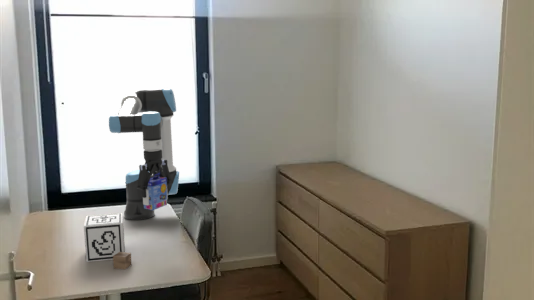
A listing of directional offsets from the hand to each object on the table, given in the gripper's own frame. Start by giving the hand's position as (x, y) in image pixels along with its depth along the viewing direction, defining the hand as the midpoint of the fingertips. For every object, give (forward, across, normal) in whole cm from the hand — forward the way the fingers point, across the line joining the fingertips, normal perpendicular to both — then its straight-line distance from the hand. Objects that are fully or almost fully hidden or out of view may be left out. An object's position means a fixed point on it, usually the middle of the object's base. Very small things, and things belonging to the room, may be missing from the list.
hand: (155, 201), depth 246 cm
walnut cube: (+20, -22, -3) cm, 30 cm away
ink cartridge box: (+2, 0, 0) cm, 2 cm away
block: (+21, -16, +14) cm, 30 cm away
